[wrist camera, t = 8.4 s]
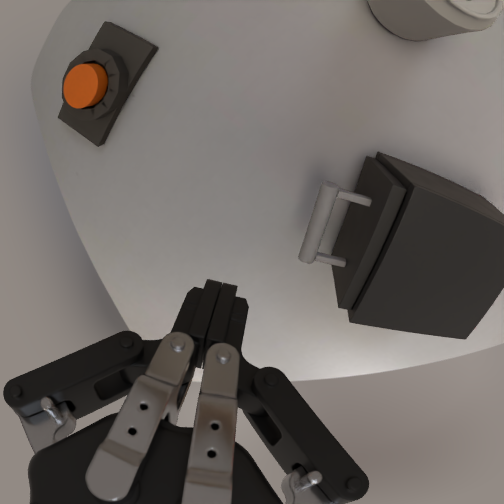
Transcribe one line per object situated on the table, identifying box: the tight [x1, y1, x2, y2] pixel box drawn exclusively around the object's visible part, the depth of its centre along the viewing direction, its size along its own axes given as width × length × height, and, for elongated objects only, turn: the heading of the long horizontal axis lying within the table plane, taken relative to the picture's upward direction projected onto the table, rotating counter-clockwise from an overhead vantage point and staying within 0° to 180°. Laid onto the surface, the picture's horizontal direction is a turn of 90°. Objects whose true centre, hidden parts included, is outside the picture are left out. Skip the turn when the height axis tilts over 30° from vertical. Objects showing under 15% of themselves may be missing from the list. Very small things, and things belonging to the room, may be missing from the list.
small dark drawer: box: [298, 156, 407, 310], centre depth 24 cm, size 18×11×8 cm, turn 79°
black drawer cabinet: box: [348, 152, 504, 339], centre depth 24 cm, size 15×13×10 cm
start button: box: [64, 63, 108, 108], centre depth 20 cm, size 4×4×2 cm
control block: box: [58, 21, 158, 147], centre depth 22 cm, size 12×7×3 cm, turn 142°
